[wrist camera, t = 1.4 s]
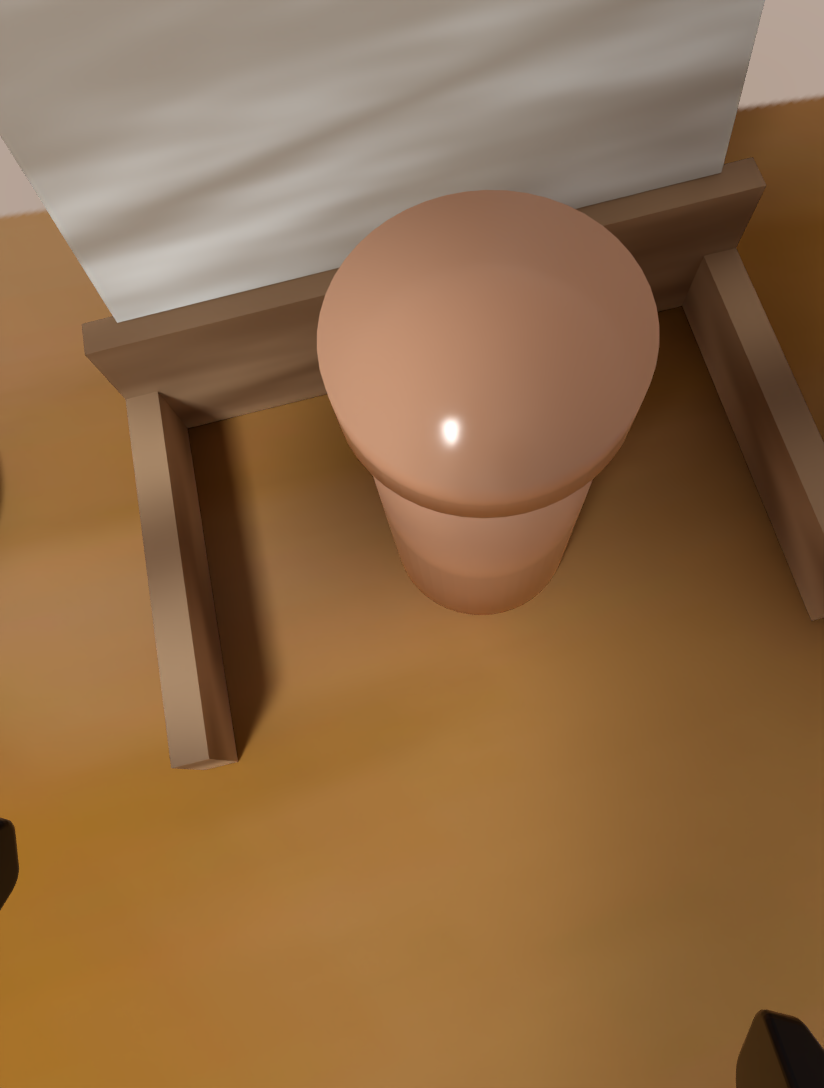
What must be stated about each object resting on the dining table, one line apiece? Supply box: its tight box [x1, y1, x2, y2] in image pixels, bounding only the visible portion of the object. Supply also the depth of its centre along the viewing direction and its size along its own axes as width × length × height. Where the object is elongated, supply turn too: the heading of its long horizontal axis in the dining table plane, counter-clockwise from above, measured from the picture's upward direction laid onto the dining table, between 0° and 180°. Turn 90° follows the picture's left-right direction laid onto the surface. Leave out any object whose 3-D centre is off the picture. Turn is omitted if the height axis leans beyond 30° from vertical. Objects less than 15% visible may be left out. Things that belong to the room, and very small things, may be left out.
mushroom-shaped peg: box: [317, 190, 659, 615], centre depth 18 cm, size 6×6×11 cm
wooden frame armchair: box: [0, 0, 824, 770], centre depth 18 cm, size 14×19×13 cm
